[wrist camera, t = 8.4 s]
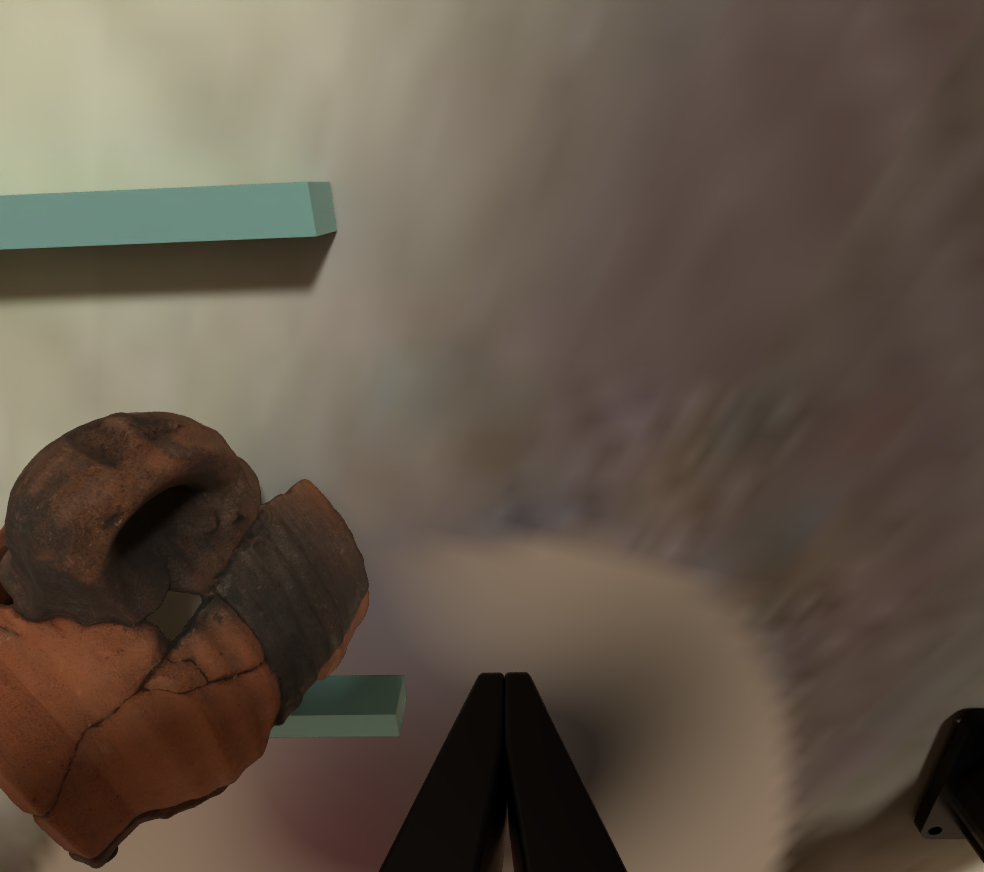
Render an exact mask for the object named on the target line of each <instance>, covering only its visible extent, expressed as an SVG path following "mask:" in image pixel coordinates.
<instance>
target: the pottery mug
mask: <svg viewBox="0 0 984 872" xmlns="http://www.w3.org/2000/svg"><path fill="white" fill-rule="evenodd" d="M368 587H369V583H368V578H367V574H366V571H365V567H364V559H363V556H362V554H361V552H360V551H359V549H358V548H357V545H356V543H355V541H354V537H353V534H352V533H351V531H350V530H349V528H348V526H347V524H346V523H345V521H344V519H343V518H342V517H341V515H340V514H339V513H338V512H337V511H336V510H335V509H334V508H333V506H332V505H331V503H330V502H329V501H328V499H327V498H326V497H325V496H324V495H323V494H322V493H321V492H320V491H319V490H318V488H317V487H316V486H314V485H313V484H312V483H311V482H310V481H309V480H306V479H304V480H301V481H299V482H297V483H296V484H295V485H293V486H292V487H291V488H290V489H289V490H288V491H287V492H286V493H285V494H280V495H278V496H276V497H274V498H273V499H272V500H271V501H269V502H267V503H265V504H262V505H261V490H260V485H259V481H258V478H257V476H256V474H255V473H254V471H253V470H252V469H251V467H250V466H249V465H248V464H247V463H246V462H245V461H244V460H243V459H242V458H240V457H238V456H236V454H235V453H234V451H233V450H232V449H231V448H230V447H229V445H228V444H227V442H226V441H225V439H224V438H223V437H222V435H221V434H219V433H218V432H217V431H216V430H214V429H212V428H209V427H207V426H204V425H202V424H201V423H199V422H197V421H195V420H193V419H191V418H189V417H186V416H183V415H178V414H174V413H169V412H143V413H139V412H135V413H123V412H121V413H114V414H111V415H109V416H106V417H104V418H100V419H97V420H94V421H91V422H89V423H86V424H84V425H81V426H79V427H77V428H75V429H73V430H71V431H69V432H67V433H65V434H64V435H62V436H61V437H60V438H58V439H56V440H55V441H53V442H51V443H50V444H48V445H47V446H46V447H44V448H43V449H42V450H41V451H40V452H39V453H37V455H36V456H35V457H34V458H33V459H32V460H31V461H30V462H29V463H28V465H27V466H26V467H25V468H24V470H23V471H22V473H21V474H20V475H19V477H18V478H17V480H16V482H15V484H14V486H13V488H12V490H11V492H10V497H9V501H8V507H7V514H6V519H5V525H4V526H3V528H2V529H1V530H0V788H1V789H2V790H3V791H4V792H5V793H6V795H7V796H8V797H9V798H10V800H11V801H12V802H13V803H14V804H16V805H17V806H18V807H19V808H20V809H21V810H22V811H24V812H26V813H29V814H33V817H34V821H35V822H36V823H37V824H38V825H39V826H40V828H41V829H42V830H44V831H45V832H46V833H47V834H48V835H49V836H50V837H51V838H52V839H53V840H54V841H55V842H56V843H58V844H59V845H60V846H62V847H63V849H65V850H66V851H69V855H70V856H71V858H72V859H74V860H76V861H79V862H83V863H85V864H87V865H89V866H91V867H92V868H100V867H102V866H103V865H104V864H105V863H107V862H109V861H110V860H111V859H113V858H114V857H115V856H116V854H117V852H118V845H119V844H120V843H121V842H122V841H123V840H124V839H125V838H126V837H127V836H128V835H129V834H130V833H131V832H132V831H133V830H134V829H135V828H136V827H137V826H138V825H139V824H141V823H143V822H146V821H150V820H154V819H159V818H161V819H168V818H170V817H172V816H173V815H175V814H177V813H179V812H182V811H184V810H187V809H190V808H194V807H196V806H197V805H199V804H201V803H203V802H204V801H206V800H208V799H209V798H211V797H214V796H217V795H219V794H221V793H222V792H223V791H224V790H225V789H226V788H227V787H228V786H229V785H230V784H232V783H234V782H235V781H236V780H237V779H238V778H239V777H240V775H241V774H242V772H243V771H244V770H245V769H246V768H247V767H249V766H250V765H251V764H252V763H254V762H255V761H256V760H257V759H259V758H260V757H261V756H262V755H263V753H264V751H265V748H266V746H267V742H268V739H269V736H270V731H271V729H272V728H273V727H274V726H280V725H282V724H284V723H285V721H286V719H287V718H288V716H289V715H290V714H291V713H292V712H293V711H295V710H296V709H297V708H298V707H299V705H300V704H301V702H302V700H303V696H304V694H305V693H306V692H307V690H308V689H309V688H310V687H311V686H312V685H313V684H314V683H315V682H316V680H320V681H322V680H324V679H325V678H326V677H328V676H329V675H330V673H331V672H333V671H334V670H335V668H337V666H338V665H339V663H340V662H341V660H342V658H343V657H344V655H345V653H346V649H347V646H348V644H349V642H350V640H351V638H352V636H353V634H354V631H355V629H356V628H357V627H358V626H359V625H360V623H361V622H362V620H363V619H364V617H365V615H366V613H367V609H368V605H369V591H368ZM168 590H170V591H176V592H185V593H190V594H195V595H200V596H201V599H202V603H201V604H200V605H199V607H198V608H197V610H196V612H195V613H194V615H193V616H192V618H191V619H190V620H189V621H188V622H187V624H186V625H185V626H184V629H183V630H182V632H181V633H180V634H179V635H178V636H177V638H175V639H174V640H173V641H170V640H169V639H168V638H166V637H165V636H164V634H163V633H162V632H161V630H160V629H159V627H158V626H156V625H154V624H152V623H150V622H148V621H147V620H146V617H147V616H149V615H150V614H152V613H154V612H155V611H156V610H157V609H158V608H159V607H160V605H161V604H162V603H163V601H164V599H165V597H166V594H167V592H168Z"/></svg>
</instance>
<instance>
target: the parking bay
mask: <svg viewBox="0 0 984 872" xmlns="http://www.w3.org/2000/svg"><path fill="white" fill-rule="evenodd" d="M334 231H337V227H336V220H335V213H334V207H333V200H332V193H331V187H330V182H294V183H272V184H250V185H228V186H205V187H183V188H161V189H139V190H116V191H94V192H72V193H50V194H28V195H5V196H0V250H1V249H25V248H49V247H73V246H97V245H121V244H145V243H169V242H193V241H217V240H242V239H266V238H290V237H314V236H320V235H323V234H327V233H331V232H334ZM406 698H407V693H406V687H405V680H404V675H372V676H371V675H370V676H328V677H326V678H325V679H324V680H322V681H320V680H316V682H315V683H314V684H313V685H312V686H311V687H310V688H309V689H308V690H307V692H306V693H305V694H304V696H303V700H302V702H301V704H300V705H299V707H298V708H297V709H296V710H295V711H293V712H292V713H291V714H290V715H289V716H288V718H287V719H286V721H285V723H284V724H282V725H280V726H274V727H273V728H272V729H271V731H270V736H269V738H270V737H271V738H274V737H275V738H279V737H373V736H375V737H376V736H377V737H378V736H379V737H380V736H399V735H400V730H401V725H402V719H403V714H404V709H405V703H406Z"/></svg>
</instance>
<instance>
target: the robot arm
mask: <svg viewBox="0 0 984 872" xmlns="http://www.w3.org/2000/svg"><path fill="white" fill-rule="evenodd" d="M507 809H508V824H509V835H510V844H511V851H512V860H513V868H514V872H627V870H626V868H625V866H624V864H623V862H622V860H621V858H620V856H619V854H618V852H617V850H616V848H615V846H614V844H613V842H612V840H611V838H610V836H609V834H608V832H607V830H606V828H605V826H604V824H603V822H602V820H601V818H600V816H599V814H598V812H597V810H596V808H595V805H594V803H593V801H592V799H591V797H590V795H589V793H588V792H587V790H586V787H585V785H584V783H583V781H582V779H581V777H580V775H579V773H578V771H577V769H576V767H575V765H574V763H573V761H572V759H571V757H570V755H569V753H568V751H567V749H566V747H565V745H564V743H563V741H562V739H561V737H560V735H559V732H558V731H557V728H556V727H555V724H554V722H553V721H552V718H551V716H550V714H549V712H548V710H547V708H546V706H545V704H544V702H543V700H542V698H541V696H540V694H539V692H538V690H537V688H536V686H535V684H534V682H533V680H532V678H531V676H530V675H529V674H528V673H527V672H510V673H507V674H505V677H504V675H503V674H502V673H481V674H480V675H479V676H478V677H477V679H476V681H475V683H474V685H473V687H472V689H471V691H470V693H469V695H468V697H467V699H466V701H465V703H464V705H463V707H462V709H461V711H460V713H459V715H458V717H457V718H456V720H455V722H454V724H453V726H452V728H451V730H450V732H449V734H448V736H447V738H446V740H445V742H444V744H443V746H442V748H441V750H440V752H439V754H438V756H437V758H436V760H435V762H434V764H433V766H432V768H431V770H430V772H429V774H428V776H427V777H426V779H425V782H424V783H423V785H422V787H421V789H420V791H419V793H418V795H417V797H416V799H415V801H414V803H413V805H412V807H411V809H410V811H409V813H408V815H407V817H406V819H405V821H404V823H403V825H402V827H401V829H400V831H399V833H398V835H397V837H396V839H395V840H394V842H393V844H392V846H391V848H390V850H389V852H388V854H387V856H386V858H385V860H384V862H383V864H382V866H381V868H380V870H379V872H502V868H503V858H504V848H505V847H504V846H505V837H506V822H507ZM914 824H915V825H916V827H917V829H918V830H919V832H920V833H921V835H922V836H923V837H925V838H928V839H967V840H968V842H969V843H970V845H971V846H972V847H973V849H974V850H975V852H976V853H977V854H978V856H979V857H980V859H981V860H982V861H983V863H984V710H976V711H972V712H970V713H968V714H966V715H965V716H963V718H962V719H961V721H960V723H959V725H958V727H957V729H956V731H955V733H954V735H953V738H952V740H951V742H950V744H949V746H948V748H947V750H946V753H945V755H944V757H943V759H942V761H941V763H940V765H939V767H938V770H937V772H936V774H935V776H934V778H933V780H932V782H931V785H930V787H929V789H928V791H927V793H926V795H925V797H924V800H923V802H922V804H921V806H920V808H919V810H918V812H917V814H916V817H915V819H914Z"/></svg>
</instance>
